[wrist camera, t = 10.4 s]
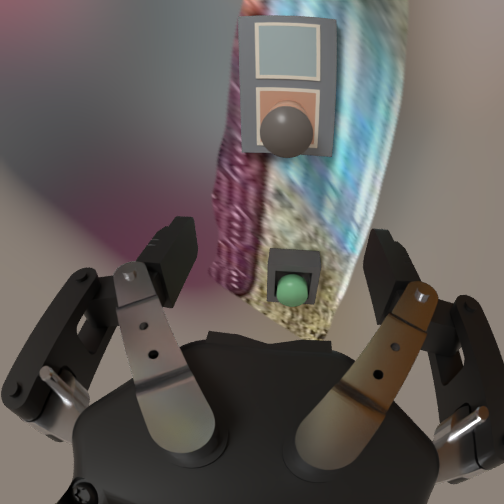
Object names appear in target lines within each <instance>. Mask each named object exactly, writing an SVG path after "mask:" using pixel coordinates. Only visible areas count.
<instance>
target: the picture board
mask: <svg viewBox="0 0 504 504" xmlns="http://www.w3.org/2000/svg"><path fill="white" fill-rule="evenodd" d="M238 31H239V71H240V106H241V138H242V152H253V153H271V152H269V151H268V150H267V149H266V148H265V146H264V145H263V143H262V141H261V138H260V126H261V123H262V121H263V119H264V118H265V116H266V115H267V114H268V112H269V111H270V110H271V108H272V107H273V106H274V105H275V104H276V103H277V102H279V101H282V100H293V101H296V102H298V103H299V104H300V105H302V107H303V108H304V109H305V111H306V113H307V116H308V118H309V120H310V122H311V125H312V128H313V139H312V142H311V144H310V146H309V148H308V149H307V150H306V151H305V152H304V153H302V154H301V155H315V156H327V157H332V148H333V135H334V120H335V101H336V71H337V28H336V20H335V19H326V18H317V17H304V16H242V17H238Z"/></svg>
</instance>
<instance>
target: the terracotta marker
mask: <svg viewBox="0 0 504 504" xmlns="http://www.w3.org/2000/svg"><path fill="white" fill-rule="evenodd" d="M260 138H261V141H262V143H263V145H264V146H265V148H266V149H267V150H268V151H269V152H271V153H272V154H274V155H276V156H279V157H283V158H291V157H296V156H298V155H300V154H302V153H304V152H305V151H306V150H307V149H308V148H309V146H310V144H311V142H312V139H313V128H312V125H311V122H310V120H309V118H308V116H307V113H306V111H305V109H304V108H303V107H302V105H300V104H299V103H298V102H296V101H293V100H282V101H279V102H277V103H276V104H275V105H274V106H273V107H272V108H271V110H270V111H269V112H268V114H267V115H266V116H265V118H264V119H263V121H262V123H261V126H260Z"/></svg>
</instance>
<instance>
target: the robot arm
mask: <svg viewBox="0 0 504 504" xmlns="http://www.w3.org/2000/svg"><path fill="white" fill-rule="evenodd" d="M197 253H198V245H197V238H196V231H195V223H194V219H193V217H180V216H177V217H175V219H174V220H173V221H172V223H171V224H170V225H169V227H168V226H167V227H166V226H165V227H164V228H162V229H161V230H160V231H158V232H157V233H156V234H155V236H154V237H153V238H152V240H151V241H150V242H149V244H148V245H147V246H146V248H145V249H144V250H143V252H142V253H141V254H140V256H139V257H138V258H137V260H136V261H135V262H128V263H125V264H123V265H121V266H120V267H119V268H117V269H116V271H115V272H114V275H113V276H106V277H98V275H97V273H96V270H95V269H93V268H82V269H80V270H78V271H76V272H75V273H73V274H72V275H71V276H70V278H69V279H68V280H67V282H66V283H65V285H64V286H63V287H62V289H61V290H60V291H59V293H58V294H57V295H56V297H55V298H54V300H53V301H52V303H51V304H50V306H49V307H48V309H47V310H46V311H45V313H44V314H43V316H42V317H41V319H40V320H39V322H38V324H37V325H36V327H35V328H34V330H33V332H32V333H31V335H30V336H29V338H28V340H27V342H26V343H25V345H24V347H23V348H22V350H21V352H20V354H19V355H18V357H17V359H16V361H15V363H14V365H13V366H12V368H11V370H10V372H9V374H8V376H7V378H6V380H5V382H4V384H3V387H2V391H1V397H2V401H3V403H4V405H5V406H6V407H7V408H9V409H10V410H11V411H12V412H14V413H15V414H16V415H17V416H19V417H20V419H21V420H23V421H24V422H25V423H27V424H28V425H29V426H31V427H32V428H34V429H35V430H37V431H38V432H40V433H42V434H45V435H46V436H48V437H49V438H51V439H52V440H54V441H57V442H63V441H64V442H66V443H69V444H71V445H72V446H73V453H74V473H73V480H72V482H71V485H70V486H69V488H68V490H67V491H66V492H65V494H64V495H63V496H62V497H61V499H60V500H59V501H58V502H57V503H56V504H427V502H428V499H429V497H430V494H431V492H432V490H433V488H434V485H436V484H440V483H444V482H448V483H450V484H458V483H460V482H463V481H466V480H468V479H470V478H473V477H475V476H478V475H480V474H482V473H484V472H487V471H489V470H491V469H493V468H495V467H497V466H499V465H501V464H503V463H504V363H503V360H502V357H501V354H500V351H499V348H498V345H497V343H496V340H495V338H494V335H493V333H492V330H491V328H490V325H489V323H488V321H487V318H486V316H485V314H484V312H483V310H482V308H481V306H480V304H479V303H478V302H477V301H476V300H475V299H474V298H472V297H470V296H467V295H460V296H458V297H457V299H456V300H455V302H454V304H453V303H450V302H446V301H443V300H440V299H438V294H437V292H436V291H435V290H434V288H433V287H431V286H430V285H428V284H427V283H424V282H421V280H420V278H419V275H418V273H417V271H416V269H415V267H414V265H413V264H412V261H411V259H410V258H409V255H408V253H407V251H406V249H405V248H404V247H403V246H402V245H401V244H400V243H398V242H396V241H394V240H393V238H392V236H391V234H390V232H389V231H388V230H383V229H372V230H371V232H370V235H369V239H368V244H367V248H366V252H365V255H364V261H363V269H364V274H365V277H366V280H367V285H368V288H369V292H370V296H371V300H372V304H373V308H374V312H375V316H376V321H377V325H381V326H380V327H379V329H378V330H377V332H376V333H375V335H374V336H373V337H372V339H371V340H370V342H369V343H368V345H367V346H366V348H365V349H364V350H363V351H362V353H361V354H360V356H359V357H358V358H357V360H356V361H355V360H353V359H351V358H350V357H348V356H346V355H344V354H342V353H339V352H337V351H333V350H332V346H331V341H319V340H296V341H289V342H282V343H274V344H267V343H263V342H260V341H257V340H253V339H251V338H247V337H244V336H241V335H238V334H229V333H221V332H212V331H209V332H208V335H207V339H206V340H199V341H195V342H191V343H188V344H185V345H183V346H181V347H179V346H178V343H177V341H176V339H175V336H174V334H173V332H172V330H171V327H170V325H169V323H168V320H167V318H166V316H165V313H164V311H163V307H167V308H173V307H174V304H175V302H176V300H177V298H178V296H179V293H180V291H181V289H182V287H183V285H184V283H185V281H186V279H187V276H188V274H189V272H190V270H191V268H192V266H193V264H194V262H195V260H196V258H197ZM83 314H84V315H85V317H86V321H85V323H84V325H83V326H82V328H81V330H80V332H79V334H78V335H77V325H78V323H79V321H80V319H81V317H82V316H83ZM117 326H120V330H121V335H122V339H123V343H124V347H125V351H126V355H127V358H128V362H129V366H130V369H131V372H132V376H133V378H132V379H130V380H129V381H127V382H126V383H124V384H123V385H121V386H120V387H118V388H117V389H115V390H114V391H112V392H110V393H109V394H107V395H106V396H104V397H102V398H101V399H99V400H98V401H96V402H94V403H93V404H92V405H90V406H89V402H90V398H89V394H88V392H87V391H88V389H89V387H90V384H91V382H92V379H93V377H94V374H95V372H96V370H97V368H98V365H99V363H100V361H101V359H102V357H103V354H104V352H105V350H106V347H107V345H108V343H109V341H110V339H111V337H112V335H113V333H114V331H115V329H116V327H117ZM461 347H462V350H463V354H464V358H465V361H464V366H463V364H462V360H461V356H460V353H459V349H460V348H461ZM420 350H423V351H427V352H428V356H429V360H430V365H431V369H432V375H433V380H434V385H435V392H436V398H437V404H438V412H439V420H440V424H439V425H438V427H437V428H436V430H435V434H434V440H433V441H431V440H430V439H429V438H428V436H427V435H426V434H425V433H424V432H423V431H422V430H421V429H420V428H419V427H418V426H417V425H416V424H415V423H414V422H413V421H412V419H411V418H410V417H409V416H407V414H406V413H405V412H404V411H403V410H402V409H401V408H400V407H399V406H398V405H397V404H396V403H395V401H394V399H395V397H396V396H397V394H398V392H399V390H400V389H401V387H402V385H403V383H404V381H405V379H406V378H407V376H408V373H409V372H410V370H411V368H412V366H413V364H414V362H415V360H416V358H417V356H418V353H419V351H420Z"/></svg>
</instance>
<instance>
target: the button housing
mask: <svg viewBox="0 0 504 504" xmlns="http://www.w3.org/2000/svg"><path fill="white" fill-rule="evenodd" d="M320 271H321V261H320V252H319V251H306V250H291V249H275V248H270V252H269V259H268V276H267V301H270V302H279V301H278V299H277V287H278V282H279V280H280V279H281V278H282V277H283V276H285V275H289V274H296V275H299V276H301V277H303V278H304V279H305V280H306V282H307V289H308V297H307V300H306V301H305V302H304V303H303V304H314V303H315V298H316V293H317V287H318V282H319V277H320Z"/></svg>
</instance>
